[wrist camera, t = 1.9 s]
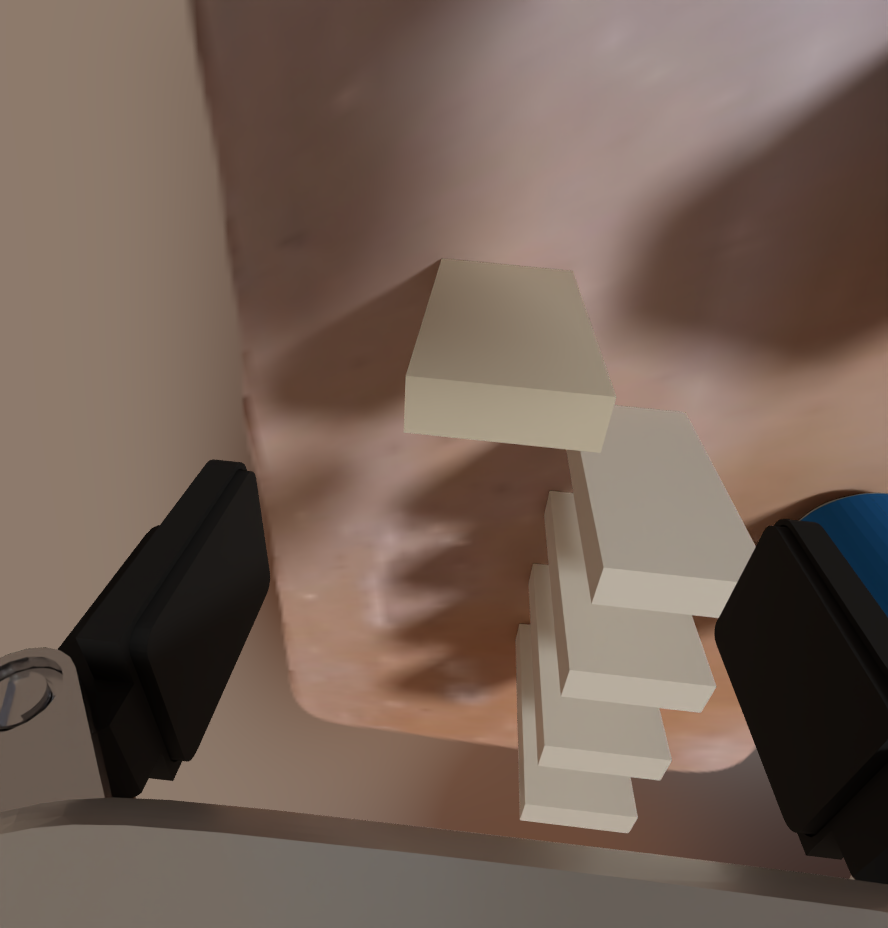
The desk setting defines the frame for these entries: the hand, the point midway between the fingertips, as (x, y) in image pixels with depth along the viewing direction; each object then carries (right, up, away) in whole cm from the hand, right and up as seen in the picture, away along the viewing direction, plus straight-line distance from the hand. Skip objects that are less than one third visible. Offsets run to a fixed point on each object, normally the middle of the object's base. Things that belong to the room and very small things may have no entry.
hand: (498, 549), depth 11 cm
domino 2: (+7, +3, +14) cm, 16 cm away
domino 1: (+1, +9, +11) cm, 14 cm away
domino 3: (+7, -1, +17) cm, 19 cm away
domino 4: (+6, -5, +20) cm, 22 cm away
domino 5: (+6, -9, +23) cm, 25 cm away
